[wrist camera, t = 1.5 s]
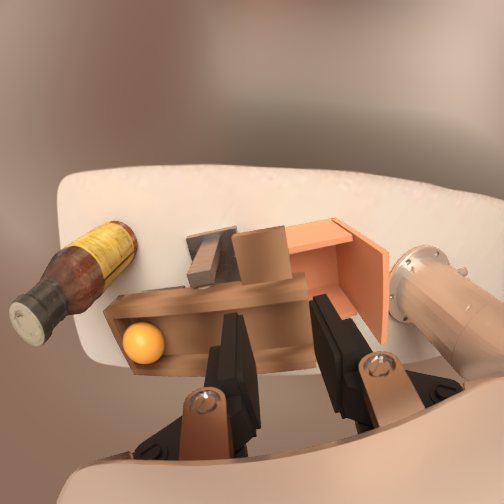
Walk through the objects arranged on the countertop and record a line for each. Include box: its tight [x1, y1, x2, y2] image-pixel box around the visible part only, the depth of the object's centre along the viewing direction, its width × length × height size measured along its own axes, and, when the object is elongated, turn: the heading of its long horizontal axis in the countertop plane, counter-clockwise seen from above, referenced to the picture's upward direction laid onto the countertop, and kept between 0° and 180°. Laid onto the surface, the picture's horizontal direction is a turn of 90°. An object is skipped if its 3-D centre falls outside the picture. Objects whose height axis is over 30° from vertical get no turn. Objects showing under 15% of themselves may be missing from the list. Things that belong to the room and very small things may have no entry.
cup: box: [285, 218, 389, 345], centre depth 28 cm, size 9×9×14 cm
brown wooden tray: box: [103, 226, 316, 377], centre depth 24 cm, size 18×12×6 cm, turn 101°
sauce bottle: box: [9, 221, 137, 346], centre depth 24 cm, size 7×6×20 cm
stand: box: [186, 226, 241, 287], centre depth 30 cm, size 6×12×12 cm, turn 11°
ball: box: [123, 322, 165, 364], centre depth 23 cm, size 4×4×4 cm
